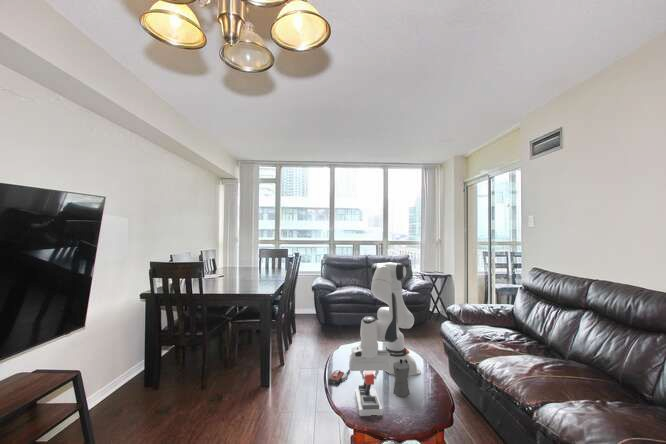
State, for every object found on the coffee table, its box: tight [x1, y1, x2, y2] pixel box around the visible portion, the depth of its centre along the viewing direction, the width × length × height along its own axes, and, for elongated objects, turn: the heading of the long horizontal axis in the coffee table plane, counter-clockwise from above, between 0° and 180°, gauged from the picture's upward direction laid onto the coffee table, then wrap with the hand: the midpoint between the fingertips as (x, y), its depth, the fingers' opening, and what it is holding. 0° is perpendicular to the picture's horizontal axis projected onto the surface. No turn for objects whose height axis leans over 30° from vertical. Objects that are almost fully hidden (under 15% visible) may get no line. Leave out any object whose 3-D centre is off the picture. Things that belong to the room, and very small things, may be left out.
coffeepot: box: [393, 359, 411, 398], centre depth 165 cm, size 15×9×18 cm, turn 146°
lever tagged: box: [364, 385, 372, 395], centre depth 154 cm, size 2×3×10 cm
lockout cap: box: [364, 371, 375, 386], centre depth 148 cm, size 4×4×4 cm
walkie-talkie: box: [327, 369, 351, 386], centre depth 181 cm, size 9×4×20 cm
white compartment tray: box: [354, 384, 383, 417], centre depth 153 cm, size 11×19×5 cm, turn 3°
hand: (369, 378), depth 148 cm, fingers closed on lockout cap, 4 cm apart
